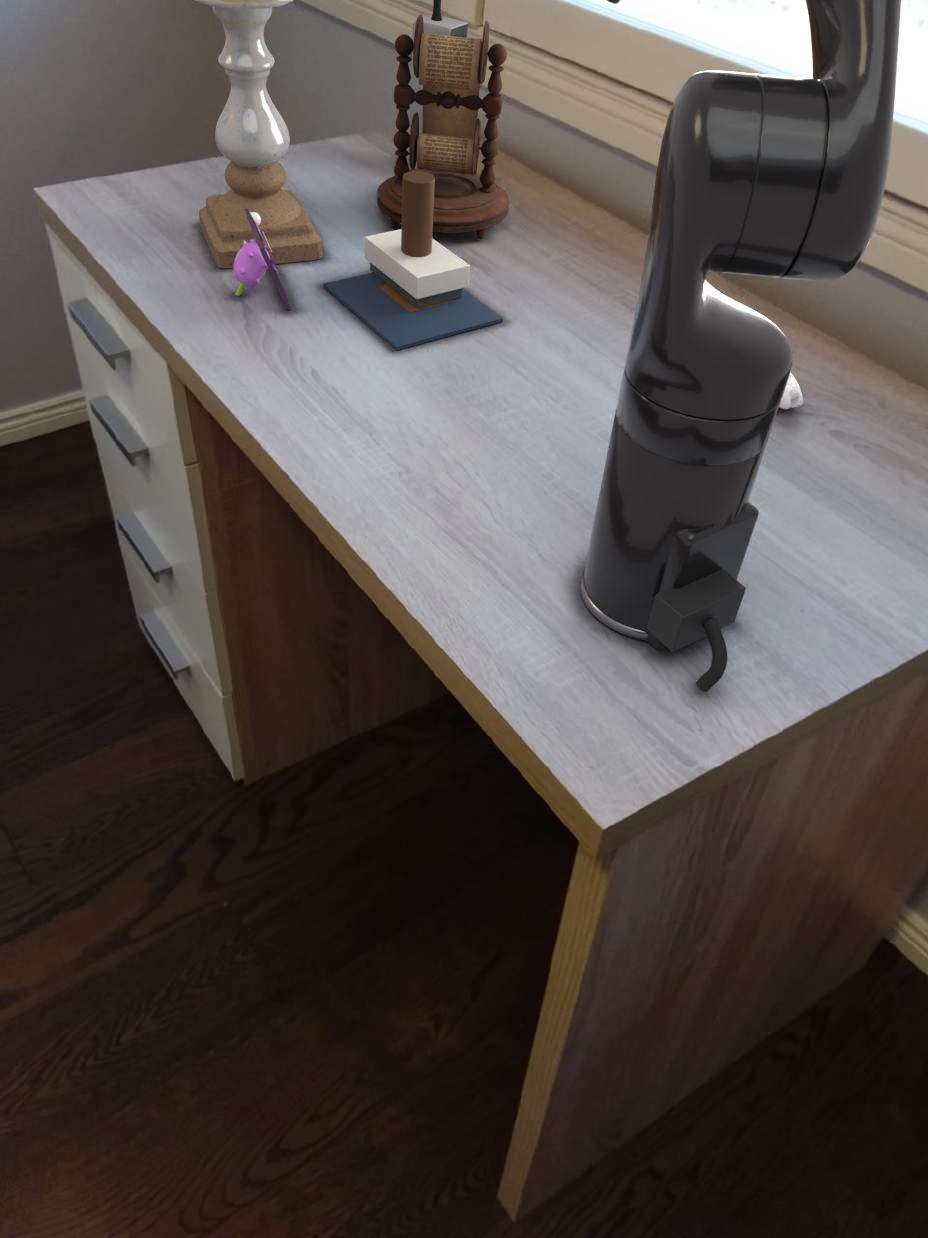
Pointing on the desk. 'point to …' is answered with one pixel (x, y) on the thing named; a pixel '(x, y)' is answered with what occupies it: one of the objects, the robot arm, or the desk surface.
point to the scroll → (448, 130)
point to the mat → (408, 312)
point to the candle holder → (253, 149)
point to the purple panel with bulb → (255, 260)
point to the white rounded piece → (791, 394)
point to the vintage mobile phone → (438, 27)
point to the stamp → (417, 250)
